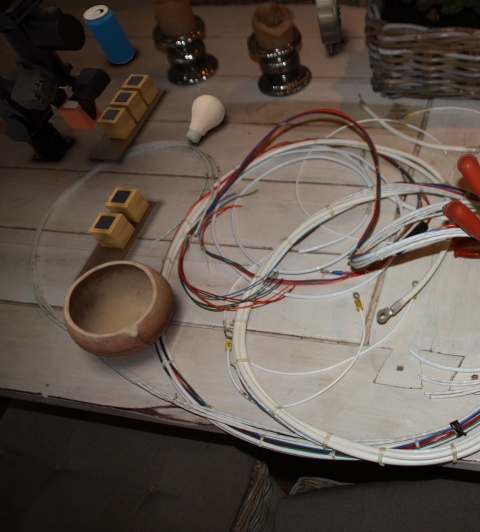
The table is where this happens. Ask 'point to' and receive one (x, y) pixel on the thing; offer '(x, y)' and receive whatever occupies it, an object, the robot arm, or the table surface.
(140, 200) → the wooden block tray
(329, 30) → the alarm clock
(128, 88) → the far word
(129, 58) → the beverage can
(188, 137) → the light bulb
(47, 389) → the table surface
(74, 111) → the letter S
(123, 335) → the bowl
